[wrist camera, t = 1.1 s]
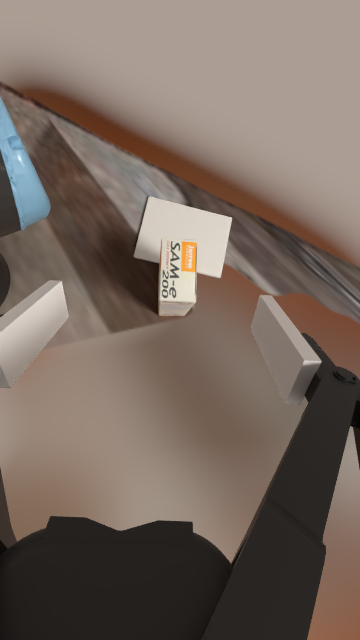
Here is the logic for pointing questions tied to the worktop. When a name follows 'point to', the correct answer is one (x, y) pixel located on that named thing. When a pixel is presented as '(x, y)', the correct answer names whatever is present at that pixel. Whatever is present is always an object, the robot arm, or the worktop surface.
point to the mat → (184, 233)
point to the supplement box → (177, 276)
